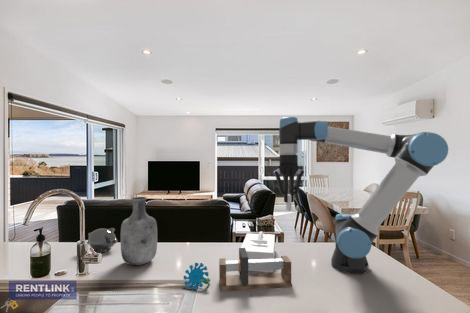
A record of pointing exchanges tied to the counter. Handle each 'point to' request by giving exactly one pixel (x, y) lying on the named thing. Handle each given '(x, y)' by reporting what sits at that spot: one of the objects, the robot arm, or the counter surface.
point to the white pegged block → (260, 247)
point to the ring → (243, 265)
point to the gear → (196, 276)
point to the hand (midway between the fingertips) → (288, 209)
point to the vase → (138, 235)
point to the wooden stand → (255, 278)
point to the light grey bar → (256, 264)
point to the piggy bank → (102, 239)
